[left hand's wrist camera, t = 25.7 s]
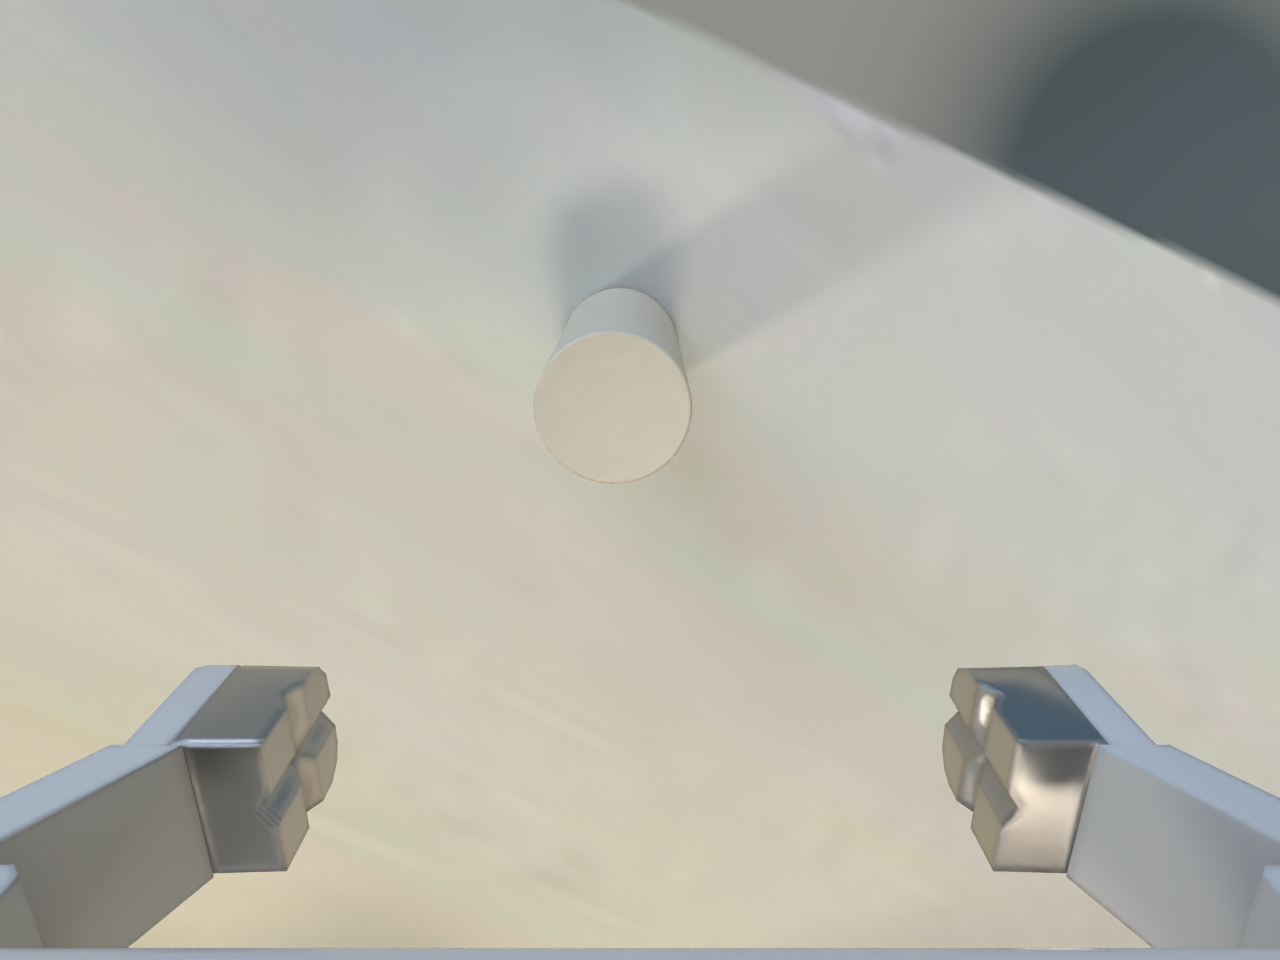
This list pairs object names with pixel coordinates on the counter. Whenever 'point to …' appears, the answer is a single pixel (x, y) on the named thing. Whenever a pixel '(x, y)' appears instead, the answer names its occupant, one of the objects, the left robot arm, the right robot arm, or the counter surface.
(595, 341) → the canister
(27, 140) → the counter surface
